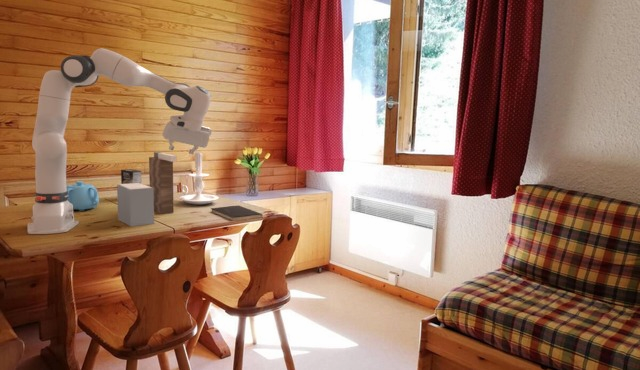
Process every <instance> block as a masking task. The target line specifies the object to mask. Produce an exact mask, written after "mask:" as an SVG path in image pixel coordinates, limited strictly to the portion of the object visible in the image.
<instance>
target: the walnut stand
mask: <svg viewBox="0 0 640 370" xmlns="http://www.w3.org/2000/svg"><path fill="white" fill-rule="evenodd" d="M148 164H149V165H148V166H149V168H148V170H149V176H148V177H149V187H152V188H153V193H154V213H155V212H156V213H157V214H160V215H166V214H173V213H174V210H175V209H174V161H173V162H171V161H167V160H163V159H158V158H154V156H151V157H148Z"/></svg>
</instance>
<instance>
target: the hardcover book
mask: <svg viewBox="0 0 640 370" xmlns="http://www.w3.org/2000/svg"><path fill="white" fill-rule="evenodd" d="M210 210H211V213H213V214H217V215H218V216H221V217H223V218H225V219H228V220H230V221H233V222H234V221H242V220H249V219H250V220H251V219H257V218H258V219H259V218H263V214H262V213H261V212H258V211H255V210H252V209H249V208H247V207H244V206H241V205H239V204H237V205H231V206H230V205H229V206H222V207H220V206H219V207H211V208H210Z"/></svg>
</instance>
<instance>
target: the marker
mask: <svg viewBox="0 0 640 370" xmlns="http://www.w3.org/2000/svg"><path fill="white" fill-rule="evenodd" d="M153 157H154V158H158V159H163V160H167V161H171V162H173V163H174V162H177V160H178V159H177V158H178V156H177V155H176V154H170V153H164V152H160V151H155V152H153Z"/></svg>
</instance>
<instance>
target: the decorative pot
mask: <svg viewBox="0 0 640 370" xmlns="http://www.w3.org/2000/svg"><path fill="white" fill-rule="evenodd" d="M66 186H67V191H68V201H69V202H70V203H71V204H72V205H73V210H78V212H85V211H86V210H91V209H92V210H93V209H94V208H95V207H97V206H98V205H99V203H100V198H99V194H98V193H99V192H98V189H97V188H96V187H95V186H94V185H93V184H91V183H90V184H84V181H81V180H78V181H76V182H75V184H66Z"/></svg>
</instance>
